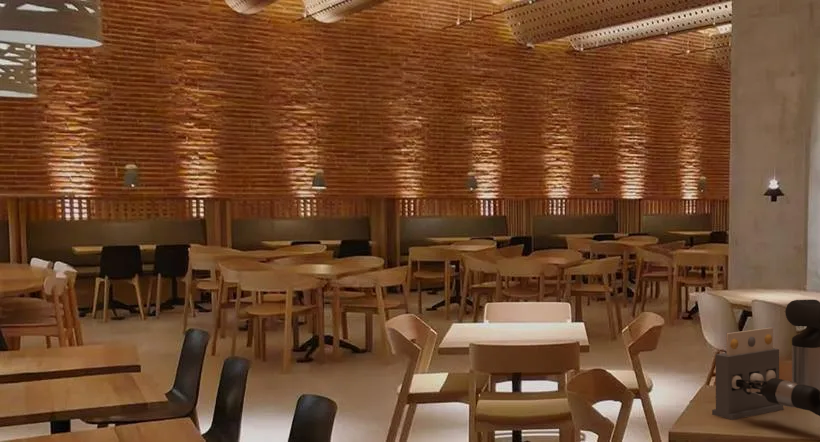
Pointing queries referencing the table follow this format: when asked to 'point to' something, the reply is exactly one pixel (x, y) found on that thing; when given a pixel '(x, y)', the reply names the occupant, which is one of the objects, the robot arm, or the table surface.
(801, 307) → the robot arm
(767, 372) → the button
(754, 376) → the middle button
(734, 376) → the button
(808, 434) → the table surface
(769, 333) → the card
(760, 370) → the button panel
